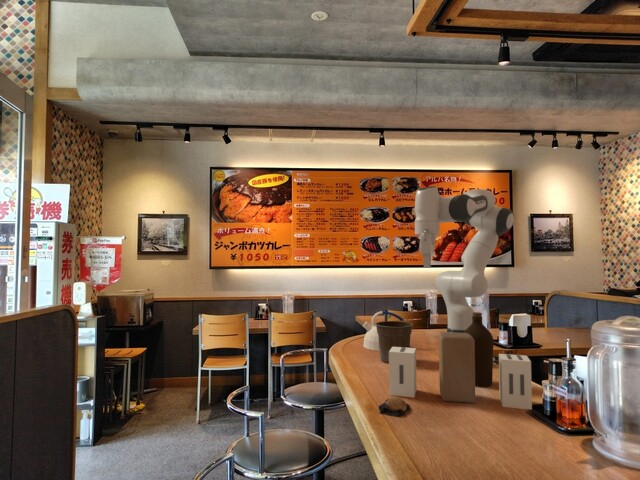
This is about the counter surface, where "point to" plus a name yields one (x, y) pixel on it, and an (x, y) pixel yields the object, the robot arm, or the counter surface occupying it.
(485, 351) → the olive oil
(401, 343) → the plant pot
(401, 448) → the counter surface
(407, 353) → the marked block one
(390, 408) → the bread roll
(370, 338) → the kettle
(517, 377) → the marked block two
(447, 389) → the block
